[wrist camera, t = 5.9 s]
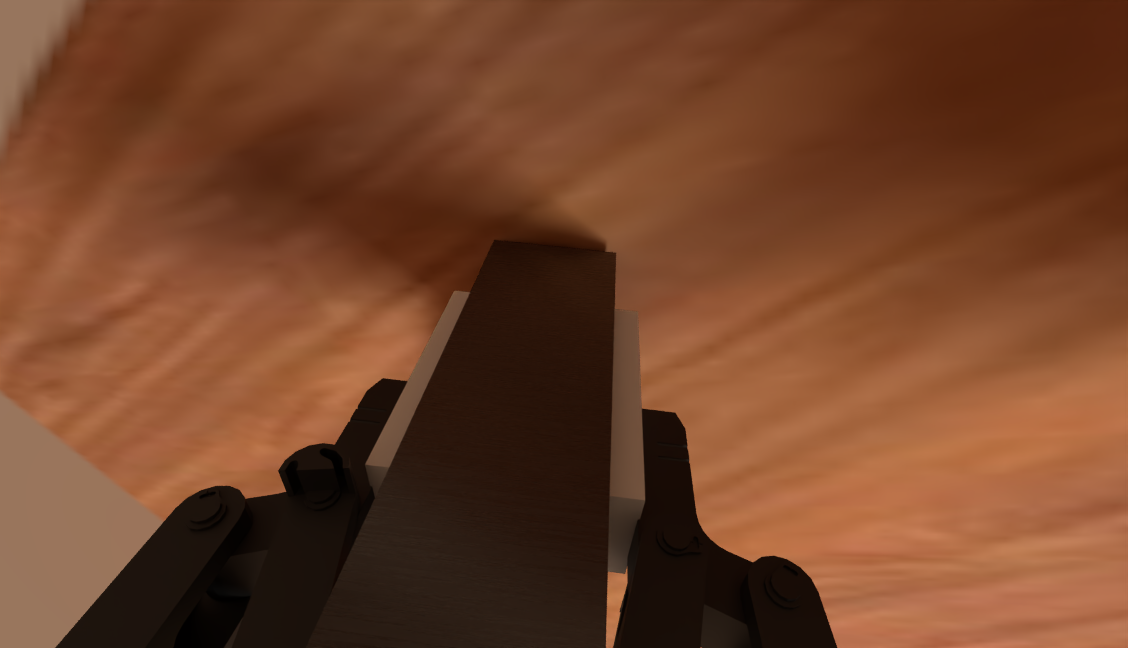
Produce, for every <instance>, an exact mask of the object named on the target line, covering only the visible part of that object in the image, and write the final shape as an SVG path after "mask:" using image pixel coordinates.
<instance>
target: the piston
mask: <svg viewBox="0 0 1128 648" xmlns="http://www.w3.org/2000/svg"><path fill="white" fill-rule="evenodd" d="M615 273H616V253H613V252H603V251H594V250H584V249H575V248H565V247H556V246H546V245H537V244H527V243H518V242H508V241H499V240H494V242H493V244H492V246H491V248H490V251H489V253H488V255H487V257H486V259H485V261H484V263H483V266H482V268H481V270H480V272H479V274H478V276H477V279H476V281H475V283H474V285H473V287H472V289H471V292H470V294H469V296H468V298H467V300H466V302H465V305H464V307H463V309H462V311H461V313H460V315H459V318H458V320H457V322H456V324H455V326H454V328H453V330H452V333H451V335H450V337H449V339H448V341H447V343H446V346H445V348H444V350H443V352H442V354H441V356H440V359H439V361H438V363H437V365H436V367H435V369H434V372H433V374H432V376H431V378H430V380H429V382H428V385H427V387H426V389H425V391H424V393H423V395H422V398H421V400H420V402H419V404H418V406H417V408H416V410H415V413H414V415H413V417H412V419H411V421H410V423H409V426H408V428H407V430H406V432H405V434H404V436H403V439H402V441H401V443H400V445H399V447H398V449H397V452H396V454H395V456H394V458H393V460H392V462H391V465H390V467H389V469H388V471H387V473H386V475H385V477H384V480H383V482H382V484H381V486H380V488H379V490H378V493H377V495H376V497H375V499H374V501H373V503H372V506H371V508H370V510H369V512H368V514H367V516H366V519H365V521H364V523H363V525H362V527H361V529H360V532H359V534H358V536H357V538H356V540H355V542H354V545H353V547H352V549H351V551H350V553H349V555H348V557H347V560H346V562H345V564H344V566H343V568H342V570H341V573H340V575H339V577H338V579H337V581H336V583H335V586H334V588H333V590H332V592H331V594H330V596H329V599H328V601H327V603H326V605H325V607H324V609H323V612H322V614H321V616H320V618H319V620H318V622H317V624H316V627H315V629H314V631H313V633H312V635H311V637H310V640H309V642H308V644H307V646H306V648H606V615H607V577H608V539H609V501H610V463H611V425H612V387H613V349H614V311H615Z"/></svg>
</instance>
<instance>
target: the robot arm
mask: <svg viewBox="0 0 1128 648" xmlns="http://www.w3.org/2000/svg"><path fill="white" fill-rule="evenodd" d="M469 294H470V292H463V291H454V292H453V294H452V296H451V298H450V300H449V302H448V304H447V306H446V308H445V310H444V312H443V314H442V316H441V317H440V319H439V321H438V323H437V325H436V327H435V329H434V331H433V333H432V335H431V337H430V339H429V341H428V343H427V345H426V347H425V349H424V351H423V353H422V355H421V356H420V358H419V360H418V362H417V364H416V366H415V368H414V370H413V372H412V374H411V376H410V378H409V380H408V381H401V380H393V379H384V378H383V379H381V380H380V381H379V382H377V383H376V384H375V385H374V386H372V387H371V388H370V389H369V390H367V392H366V393H365V395H364V397H363V398H362V400H361V402H360V403H359V405H358V409H356V410H355V412H354V413H353V415H352V417H351V420H350V422H348V424H347V425H346V427H345V429H344V430H343V432H342V434H341V435H340V437H339V439H338V440H337V442H336V444H335V445H333V444H325V443H322V444H316V445H310V446H307V447H305V448H303V449H301V450H298V451H296V452H295V453H294V454H292V455H291V456H290V457H289V458H287V459H286V460H285V461H284V463H283V464H282V466H281V467H280V469H279V470H278V472H279V474H280V477H281V479H282V482H283V484H284V487H285V489H286V492H283V493H279V494H274V495H267V496H261V497H254V498H248V499H245V497H244V496H243V494H242V493H241V492H240V490H238V489H236V488H233V487H231V486H214V487H211V488H207V489H204V490H201V491H199V492H197V493H195V494H193V495H192V496H190V497H188V498H187V499H185V500H184V501H183V502H182V503H181V504H180V505H179V506H178V507H176V508H175V509H174V511H173V512H172V513H171V514H170V515H169V516H168V518H167V519H166V520H165V521H164V522H163V523H162V525H161V526H160V527H159V528H158V529H157V531H156V532H155V533H154V534H153V535H152V536H151V538H150V539H149V540H148V541H147V542H146V543H145V544H144V545H143V547H142V548H141V549H140V550H139V551H138V553H137V554H136V555H135V556H134V557H133V558H132V559H131V561H130V562H129V563H128V564H127V565H126V566H125V568H124V569H123V570H122V571H121V572H120V574H119V575H118V576H117V577H116V578H115V579H114V580H113V581H112V583H111V584H110V585H109V586H108V587H107V589H106V590H105V591H104V592H103V593H102V594H101V595H100V597H99V598H98V599H97V600H96V601H95V602H94V604H93V605H92V606H91V607H90V608H89V609H88V611H87V612H86V613H85V614H84V615H83V616H82V617H81V619H80V620H79V621H78V622H77V623H76V624H75V626H74V627H73V628H72V629H71V630H70V631H69V633H68V634H67V635H66V636H65V637H64V638H63V640H62V641H61V642H60V643H59V644H58V645H57V646H56V648H306V646H307V644H308V642H309V640H310V637H311V635H312V633H313V631H314V629H315V627H316V624H317V622H318V620H319V618H320V616H321V614H322V612H323V609H324V607H325V605H326V603H327V601H328V599H329V596H330V594H331V592H332V590H333V588H334V586H335V583H336V581H337V579H338V577H339V575H340V573H341V570H342V568H343V566H344V564H345V562H346V560H347V557H348V555H349V553H350V551H351V549H352V547H353V545H354V542H355V540H356V538H357V536H358V534H359V532H360V529H361V527H362V525H363V523H364V521H365V519H366V516H367V514H368V512H369V510H370V508H371V506H372V503H373V501H374V499H375V497H376V495H377V493H378V490H379V488H380V486H381V484H382V482H383V480H384V477H385V475H386V473H387V471H388V469H389V467H390V465H391V462H392V460H393V458H394V456H395V454H396V452H397V449H398V447H399V445H400V443H401V441H402V439H403V436H404V434H405V432H406V430H407V428H408V426H409V423H410V421H411V419H412V417H413V415H414V413H415V410H416V408H417V406H418V404H419V402H420V400H421V398H422V395H423V393H424V391H425V389H426V387H427V385H428V382H429V380H430V378H431V376H432V374H433V372H434V369H435V367H436V365H437V363H438V361H439V359H440V356H441V354H442V352H443V350H444V348H445V346H446V343H447V341H448V339H449V337H450V335H451V333H452V330H453V328H454V326H455V324H456V322H457V320H458V318H459V315H460V313H461V311H462V309H463V307H464V305H465V302H466V300H467V298H468V296H469ZM626 568H628V584H627V587H626V591H625V594H624V598H623V601H622V605H621V608H620V612H621V613H620V618H619V623H618V627H617V632H616V637H615V642H614V646H613V648H700V647H702V648H837V645H836V643H835V640H834V637H833V634H832V631H831V628H830V625H829V622H828V619H827V616H826V613H825V610H824V607H823V604H822V601H821V599H820V596H819V593H818V591H817V589H816V587H815V585H814V583H813V581H812V579H811V578H810V577H809V576H808V575H807V574H806V573H805V572H804V571H803V570H802V569H801V568H800V567H799V566H797V565H796V564H794V563H792V562H791V561H789V560H787V559H784V558H780V557H777V556H766V557H761V558H759V559H758V560H756V561H755V562H751V561H748V560H746V559H744V558H742V557H739V556H737V555H735V554H733V553H730V552H728V551H726V550H725V549H723V548H721V547H719V546H718V545H717V544H715V543H714V542H713V541H712V540H711V539H710V538H709V537H708V536H707V535H706V534H705V532H704V531H703V530H702V528H701V526H700V524H699V522H698V518H697V514H696V508H695V500H694V492H693V484H692V477H691V469H690V463H689V454H688V449H687V438H686V431H685V428H684V426H683V424H682V423H681V421H680V420H679V418H678V416H677V415H676V413H673V412H665V411H657V410H648V409H642V404H641V378H640V352H639V326H638V312H636V311H628V310H619V309H615V311H614V349H613V387H612V425H611V463H610V501H609V539H608V572H616V573H623V574H625V572H626Z"/></svg>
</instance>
